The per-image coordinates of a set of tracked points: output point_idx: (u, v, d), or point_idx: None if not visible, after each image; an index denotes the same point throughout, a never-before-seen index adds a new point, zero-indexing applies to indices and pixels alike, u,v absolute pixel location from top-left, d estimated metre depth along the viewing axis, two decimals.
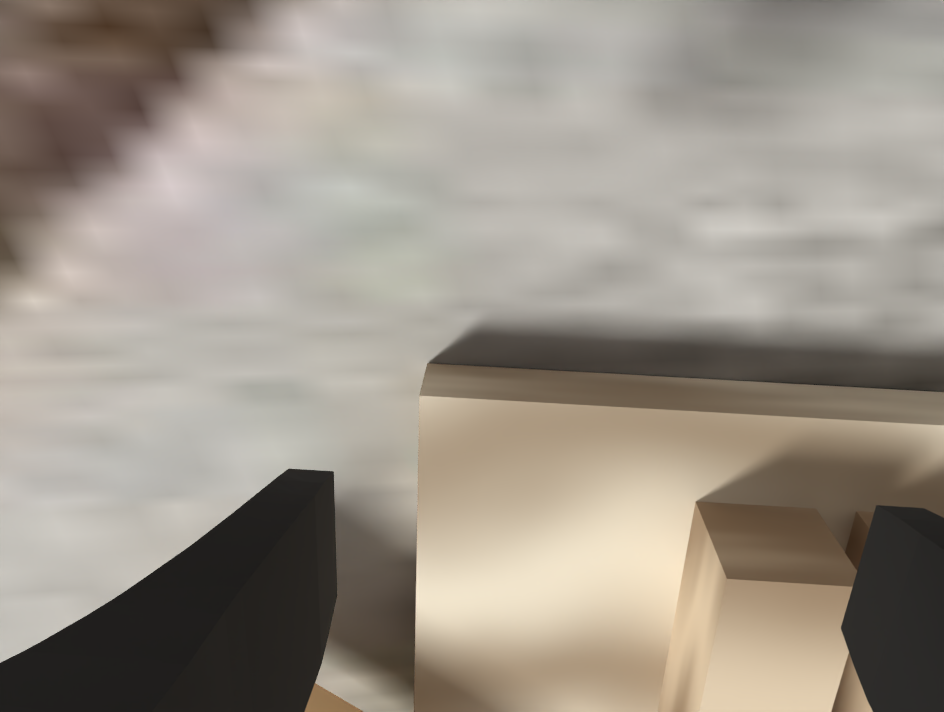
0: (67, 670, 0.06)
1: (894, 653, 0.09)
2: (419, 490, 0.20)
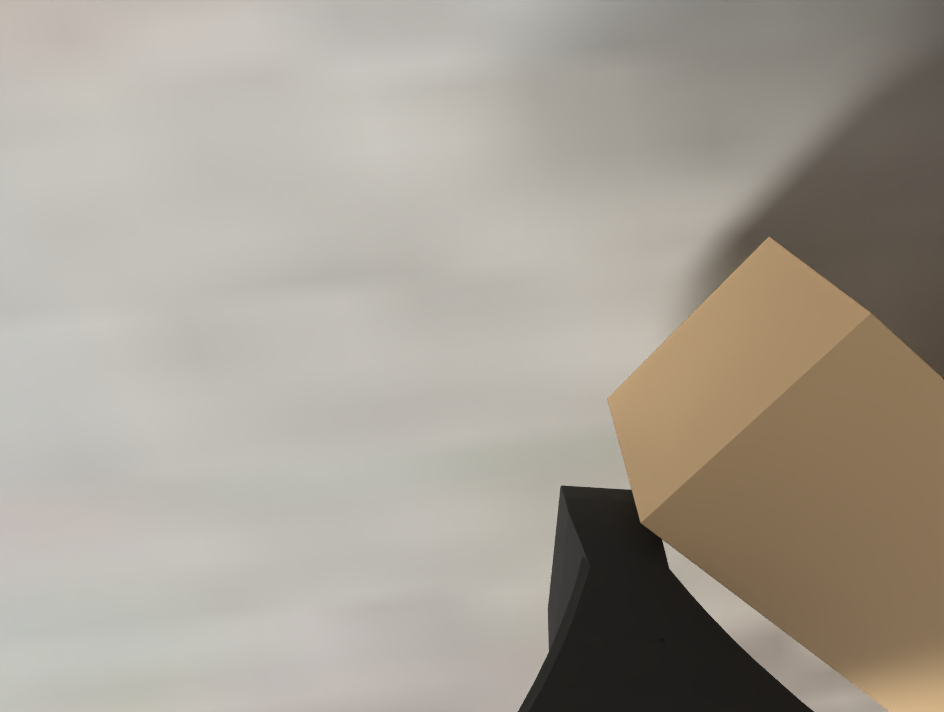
0: (608, 707, 0.06)
1: None
2: None
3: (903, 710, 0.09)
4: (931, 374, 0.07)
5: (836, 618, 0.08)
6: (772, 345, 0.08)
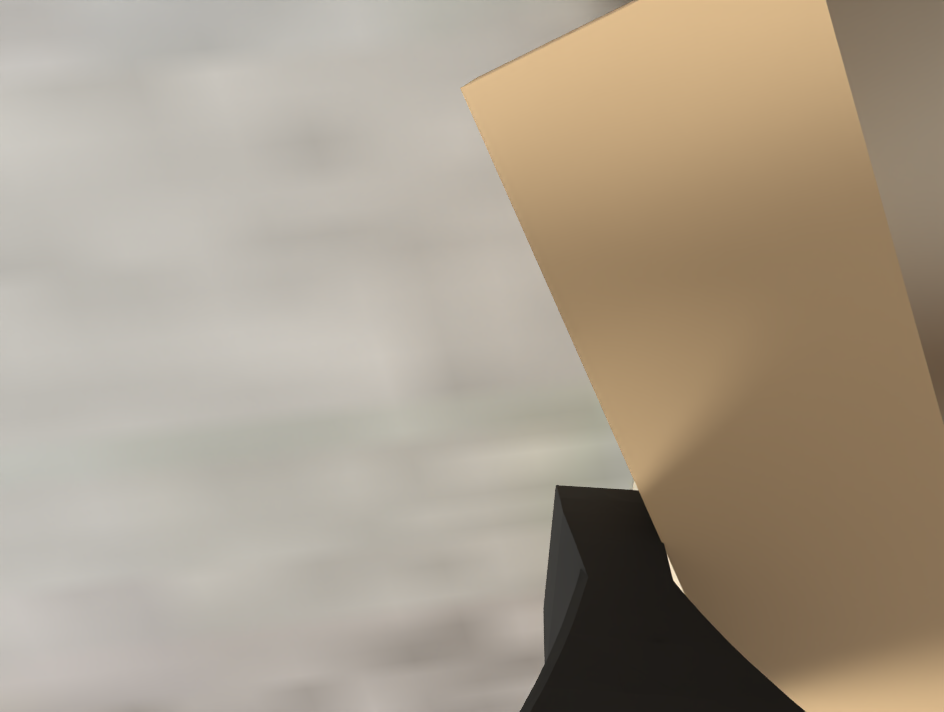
0: (609, 707, 0.06)
1: (553, 630, 0.09)
2: None
3: (635, 455, 0.08)
4: (828, 35, 0.06)
5: (614, 310, 0.07)
6: None
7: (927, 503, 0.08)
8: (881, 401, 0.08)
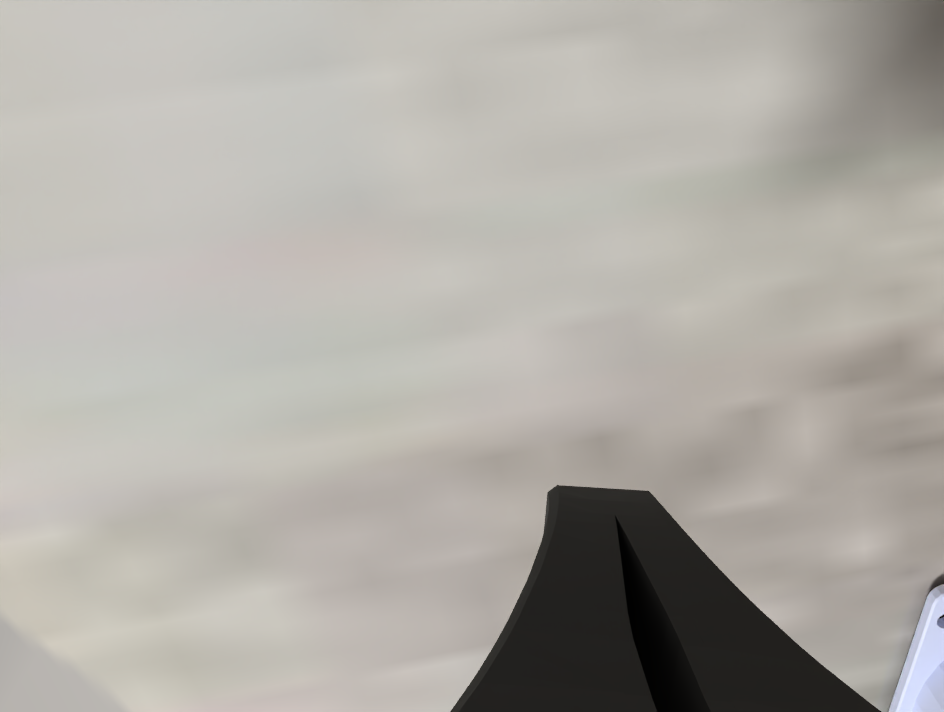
0: (542, 701, 0.06)
1: None
2: None
3: None
4: None
5: None
6: None
7: None
8: None
